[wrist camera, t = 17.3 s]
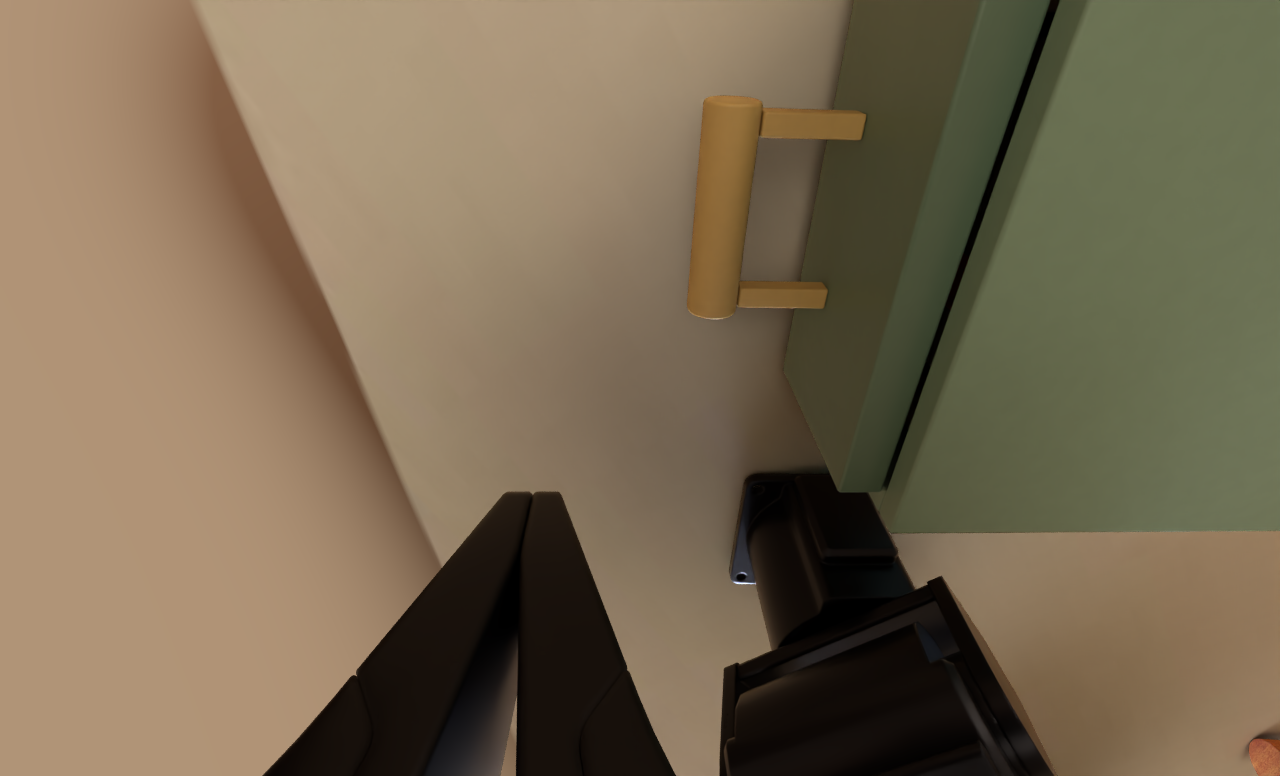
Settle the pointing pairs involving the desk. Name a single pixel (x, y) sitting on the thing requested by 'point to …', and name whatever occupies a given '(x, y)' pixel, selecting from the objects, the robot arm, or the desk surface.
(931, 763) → the robot arm
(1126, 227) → the cabinet
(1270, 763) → the purple and orange maraca
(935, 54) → the drawer
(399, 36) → the desk surface
